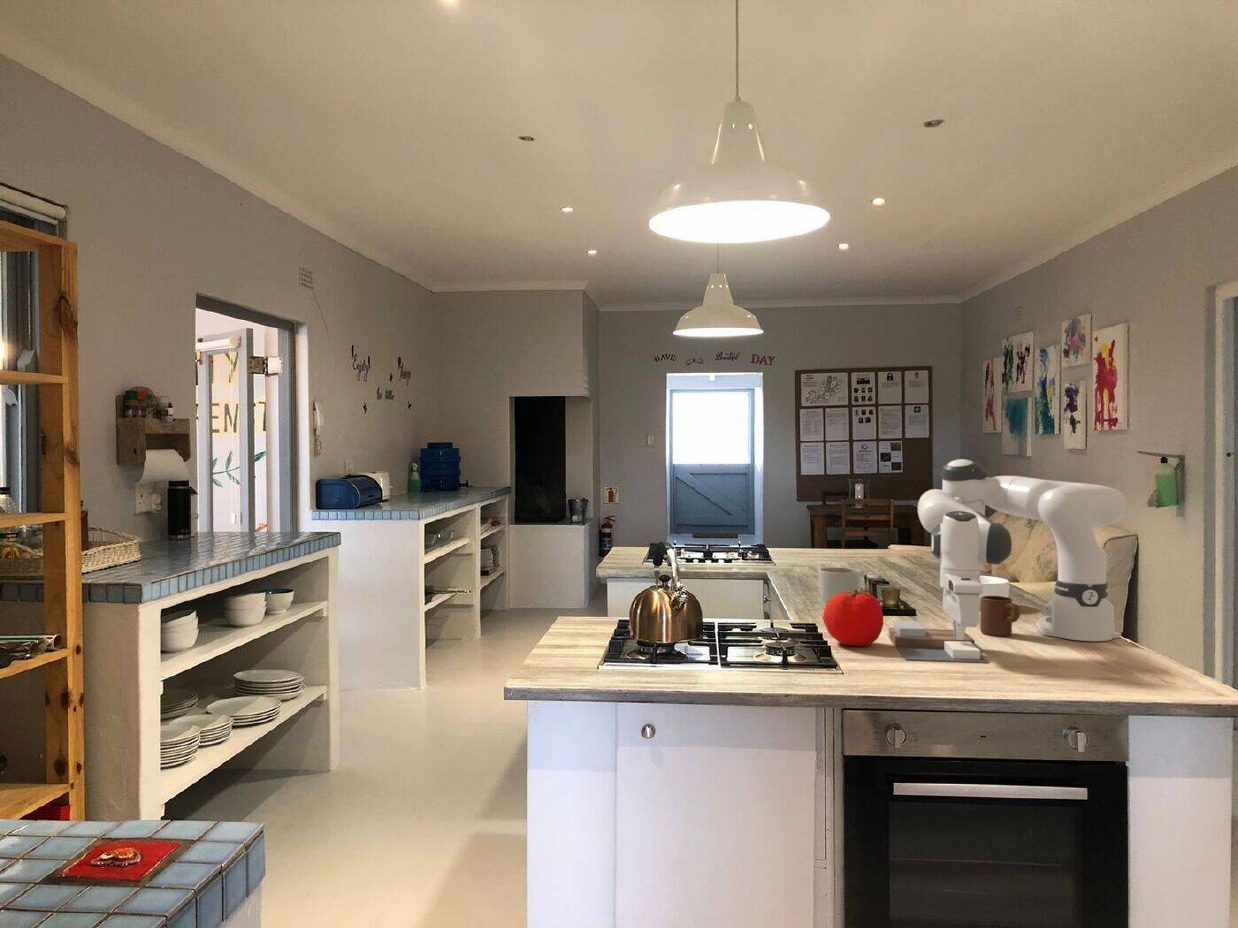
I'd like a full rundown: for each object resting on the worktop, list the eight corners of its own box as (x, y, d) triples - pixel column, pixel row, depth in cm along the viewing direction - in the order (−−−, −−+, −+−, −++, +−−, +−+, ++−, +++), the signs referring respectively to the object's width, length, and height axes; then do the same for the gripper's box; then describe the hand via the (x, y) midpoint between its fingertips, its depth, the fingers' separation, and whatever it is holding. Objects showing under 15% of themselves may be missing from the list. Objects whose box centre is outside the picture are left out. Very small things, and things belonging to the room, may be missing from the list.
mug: (1030, 639, 226) (1031, 602, 226) (1005, 641, 224) (1006, 604, 224) (998, 630, 238) (998, 594, 237) (974, 631, 235) (974, 596, 235)
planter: (865, 609, 267) (865, 572, 267) (824, 609, 267) (824, 572, 267) (853, 601, 280) (854, 567, 279) (814, 601, 279) (814, 567, 279)
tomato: (895, 647, 217) (895, 591, 217) (854, 654, 210) (855, 596, 210) (847, 635, 231) (847, 582, 230) (808, 641, 223) (808, 587, 223)
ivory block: (944, 649, 214) (944, 640, 214) (970, 650, 213) (970, 641, 213) (952, 658, 205) (952, 649, 205) (980, 659, 204) (980, 650, 204)
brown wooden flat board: (888, 637, 228) (888, 627, 228) (962, 639, 225) (962, 630, 225) (896, 648, 216) (897, 638, 216) (974, 650, 213) (974, 640, 213)
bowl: (969, 612, 263) (969, 584, 262) (937, 602, 279) (937, 575, 279) (1021, 610, 266) (1021, 582, 266) (986, 600, 283) (986, 574, 283)
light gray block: (893, 628, 227) (893, 621, 227) (918, 629, 226) (918, 621, 226) (899, 636, 218) (899, 628, 218) (925, 637, 217) (925, 629, 217)
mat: (896, 648, 216) (896, 647, 216) (974, 650, 213) (974, 649, 213) (906, 660, 204) (906, 658, 204) (988, 663, 202) (988, 661, 202)
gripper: (936, 573, 222) (935, 628, 222) (955, 586, 202) (955, 647, 202) (963, 574, 221) (962, 629, 221) (985, 587, 201) (984, 648, 201)
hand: (959, 638), depth 212 cm, fingers closed
